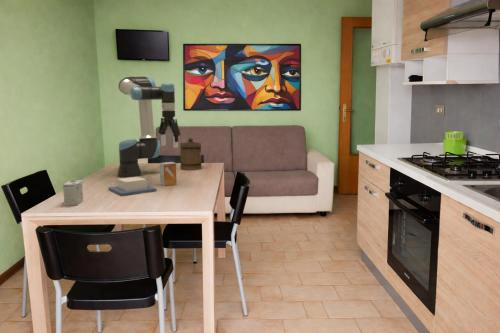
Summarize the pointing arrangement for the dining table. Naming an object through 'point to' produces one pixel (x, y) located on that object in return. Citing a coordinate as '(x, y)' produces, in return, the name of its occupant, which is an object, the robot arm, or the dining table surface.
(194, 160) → the wooden container
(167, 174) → the small box
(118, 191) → the build board
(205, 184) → the dining table surface
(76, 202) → the light bulb box
